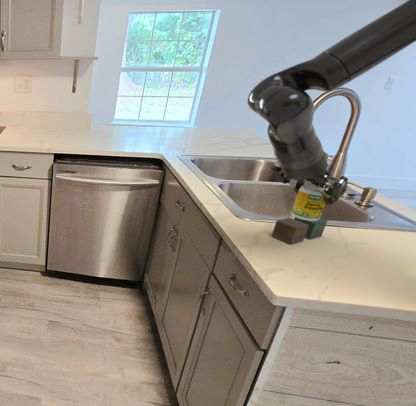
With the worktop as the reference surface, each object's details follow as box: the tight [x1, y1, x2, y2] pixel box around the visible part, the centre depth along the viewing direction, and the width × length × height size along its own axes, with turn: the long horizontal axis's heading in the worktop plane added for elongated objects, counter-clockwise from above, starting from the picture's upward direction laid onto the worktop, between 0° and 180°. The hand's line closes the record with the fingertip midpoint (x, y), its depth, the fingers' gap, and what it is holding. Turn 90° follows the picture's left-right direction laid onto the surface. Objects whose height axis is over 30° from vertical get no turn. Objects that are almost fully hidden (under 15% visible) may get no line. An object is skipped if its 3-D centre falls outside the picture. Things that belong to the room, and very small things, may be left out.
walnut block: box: [271, 217, 309, 246], centre depth 99 cm, size 5×5×5 cm
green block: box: [293, 216, 329, 240], centre depth 101 cm, size 5×5×5 cm
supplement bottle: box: [290, 184, 329, 221], centre depth 85 cm, size 5×5×10 cm
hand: (316, 197), depth 86 cm, fingers closed on supplement bottle, 5 cm apart
